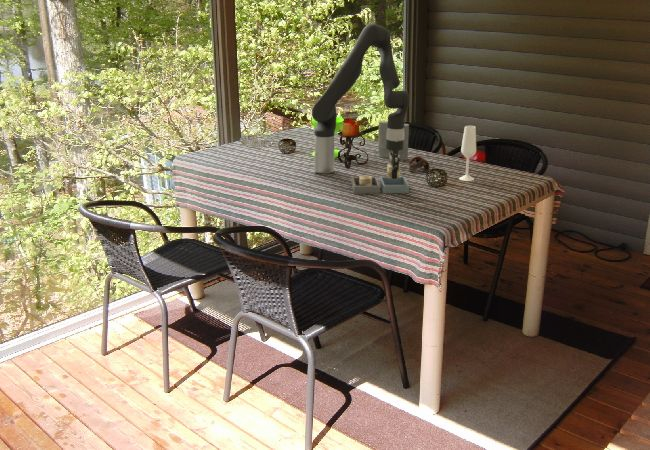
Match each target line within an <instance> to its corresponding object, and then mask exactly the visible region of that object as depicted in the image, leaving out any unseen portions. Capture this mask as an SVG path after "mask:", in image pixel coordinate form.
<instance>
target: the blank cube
mask: <svg viewBox="0 0 650 450" xmlns="http://www.w3.org/2000/svg"><path fill="white" fill-rule="evenodd" d="M358 177H359V186H372V178H371V177H372V176H371V175H359V176H358Z"/></svg>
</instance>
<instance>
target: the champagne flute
mask: <svg viewBox="0 0 650 450" xmlns="http://www.w3.org/2000/svg"><path fill="white" fill-rule="evenodd" d="M460 152H461V154H462V156H464V158H466V163H465V165H466V166H465V175H462V176H461V177H459V178H458V179H459V180H460V181H464V182H472V181H474V180H475V178H473V177H472V176H471V175H470V174H469V169H470V168H469V166H470V159H471V158H472V157H474V155H475V154H476V153H477V130H476V126H475V125H465V126H464V130H463V136H462V141H461V148H460Z"/></svg>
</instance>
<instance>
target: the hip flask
mask: <svg viewBox="0 0 650 450" xmlns="http://www.w3.org/2000/svg"><path fill="white" fill-rule="evenodd" d="M387 123H388V120H387V121H384V120H383V121H381V120H380V121H378V143H377V145H378V147H377V149H378V150H377V156H378V157H379V158H385V159H389V158H390V156H389V153H390V150H388V149H386V134H387ZM409 128H410V124H408V123H404V148H403V150H399V151H398V152H399V154H400V157H399V158H400V159H399V161H407V160H408V156H409V154H408V152H409V132H410V129H409Z"/></svg>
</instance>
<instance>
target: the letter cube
mask: <svg viewBox="0 0 650 450" xmlns="http://www.w3.org/2000/svg"><path fill="white" fill-rule="evenodd" d="M394 167H396V165H395V166H394ZM401 170H402V169H401V165H400V164H399V169H398V170H397V178H400V177H401ZM386 177H388V178H392V165H391V164H390V163H387V167H386Z"/></svg>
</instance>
